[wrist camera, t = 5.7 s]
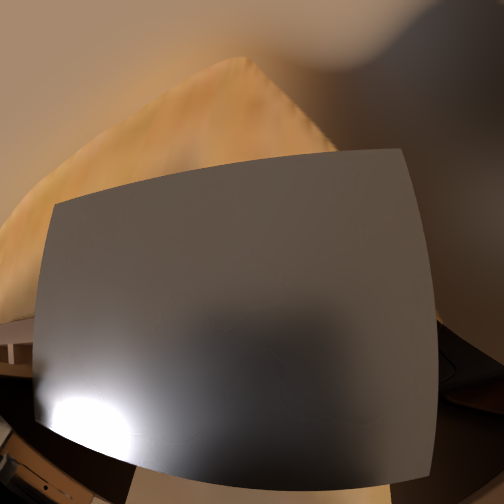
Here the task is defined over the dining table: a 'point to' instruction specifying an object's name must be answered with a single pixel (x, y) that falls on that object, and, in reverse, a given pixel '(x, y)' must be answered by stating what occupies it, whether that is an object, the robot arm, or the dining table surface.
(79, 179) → the dining table surface
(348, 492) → the dining table surface
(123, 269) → the grey tall block
